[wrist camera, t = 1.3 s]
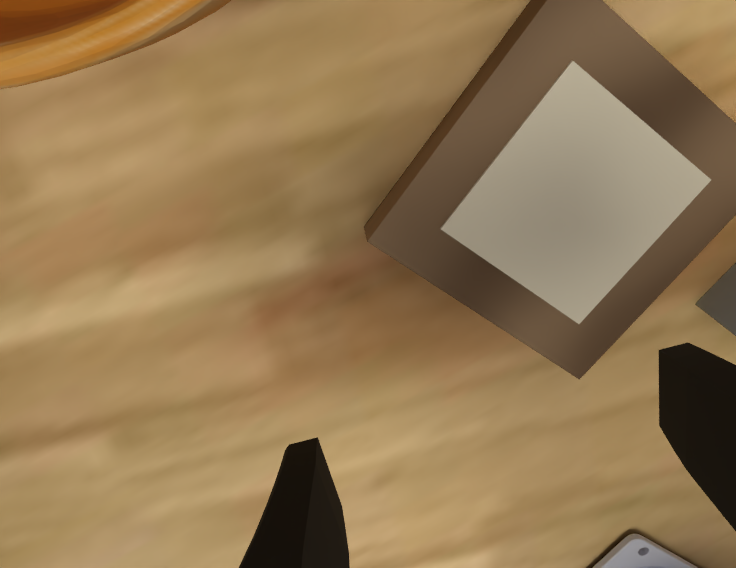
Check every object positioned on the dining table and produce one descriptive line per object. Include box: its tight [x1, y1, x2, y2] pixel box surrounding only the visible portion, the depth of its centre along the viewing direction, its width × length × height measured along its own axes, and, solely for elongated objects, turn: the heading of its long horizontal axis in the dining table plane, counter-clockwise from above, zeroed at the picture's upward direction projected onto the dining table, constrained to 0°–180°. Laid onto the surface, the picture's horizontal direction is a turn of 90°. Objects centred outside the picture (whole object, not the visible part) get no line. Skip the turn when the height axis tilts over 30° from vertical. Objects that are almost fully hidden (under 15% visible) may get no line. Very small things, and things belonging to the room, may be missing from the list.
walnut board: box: [364, 0, 736, 379], centre depth 22 cm, size 10×10×2 cm
